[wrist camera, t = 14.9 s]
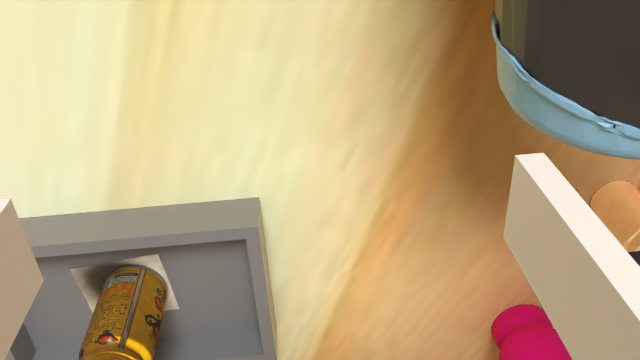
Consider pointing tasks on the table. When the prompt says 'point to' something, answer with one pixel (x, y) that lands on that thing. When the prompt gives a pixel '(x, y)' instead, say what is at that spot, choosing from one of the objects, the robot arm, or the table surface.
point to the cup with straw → (619, 212)
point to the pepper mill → (527, 335)
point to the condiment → (124, 307)
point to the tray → (182, 271)
